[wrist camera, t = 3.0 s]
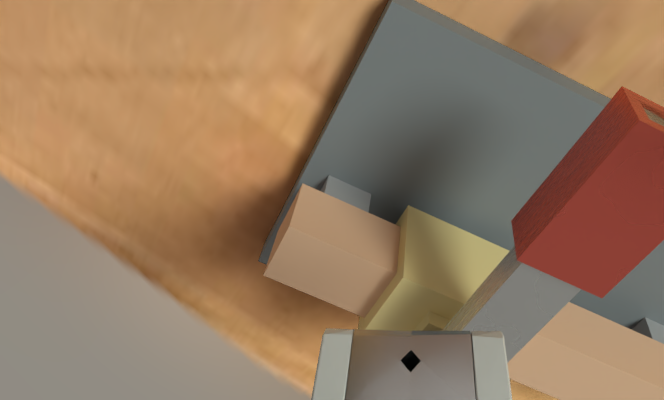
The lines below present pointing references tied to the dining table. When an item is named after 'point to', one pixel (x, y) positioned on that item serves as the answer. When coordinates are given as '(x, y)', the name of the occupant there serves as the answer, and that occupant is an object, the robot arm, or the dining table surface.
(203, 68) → the dining table surface
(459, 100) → the board
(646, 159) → the lever
